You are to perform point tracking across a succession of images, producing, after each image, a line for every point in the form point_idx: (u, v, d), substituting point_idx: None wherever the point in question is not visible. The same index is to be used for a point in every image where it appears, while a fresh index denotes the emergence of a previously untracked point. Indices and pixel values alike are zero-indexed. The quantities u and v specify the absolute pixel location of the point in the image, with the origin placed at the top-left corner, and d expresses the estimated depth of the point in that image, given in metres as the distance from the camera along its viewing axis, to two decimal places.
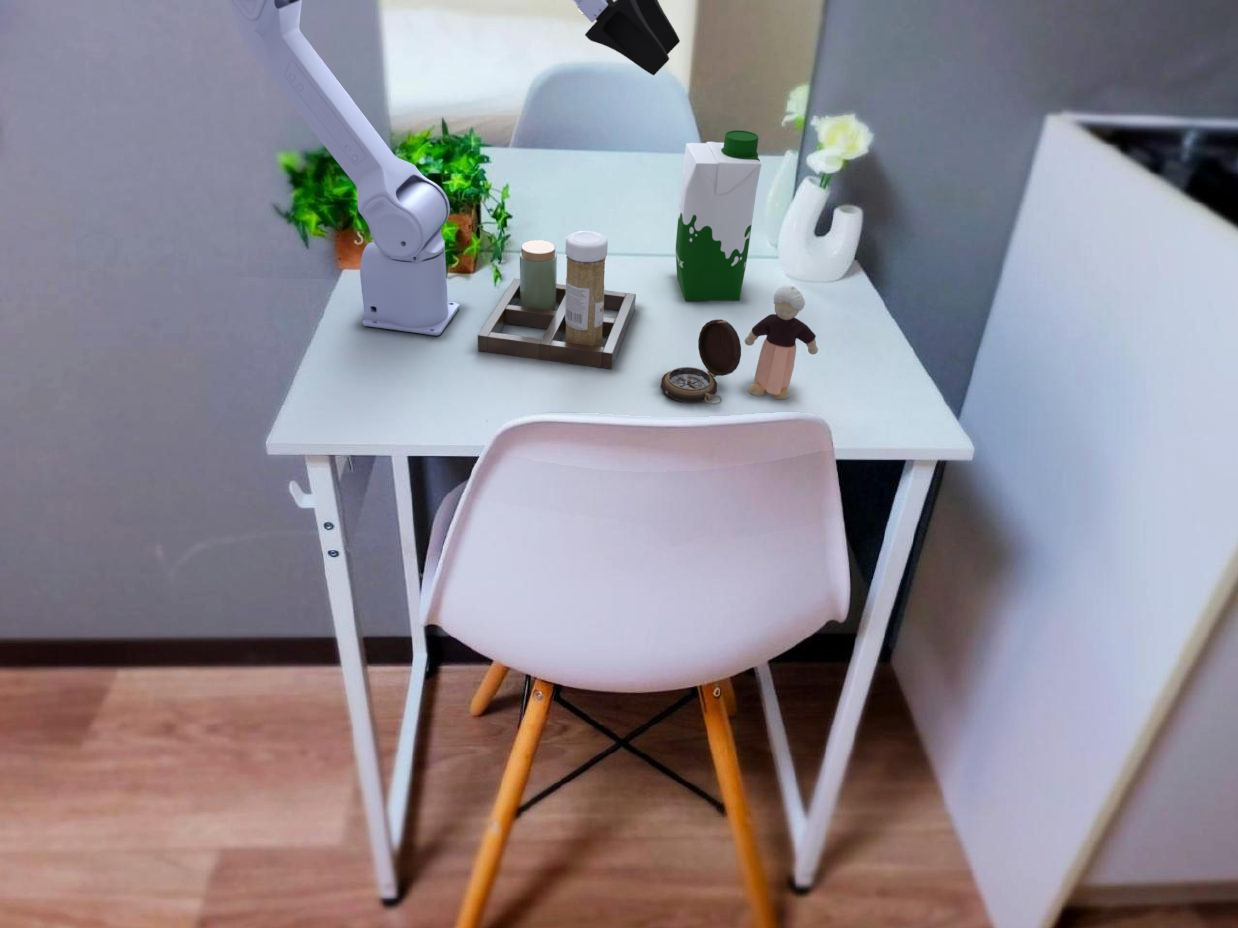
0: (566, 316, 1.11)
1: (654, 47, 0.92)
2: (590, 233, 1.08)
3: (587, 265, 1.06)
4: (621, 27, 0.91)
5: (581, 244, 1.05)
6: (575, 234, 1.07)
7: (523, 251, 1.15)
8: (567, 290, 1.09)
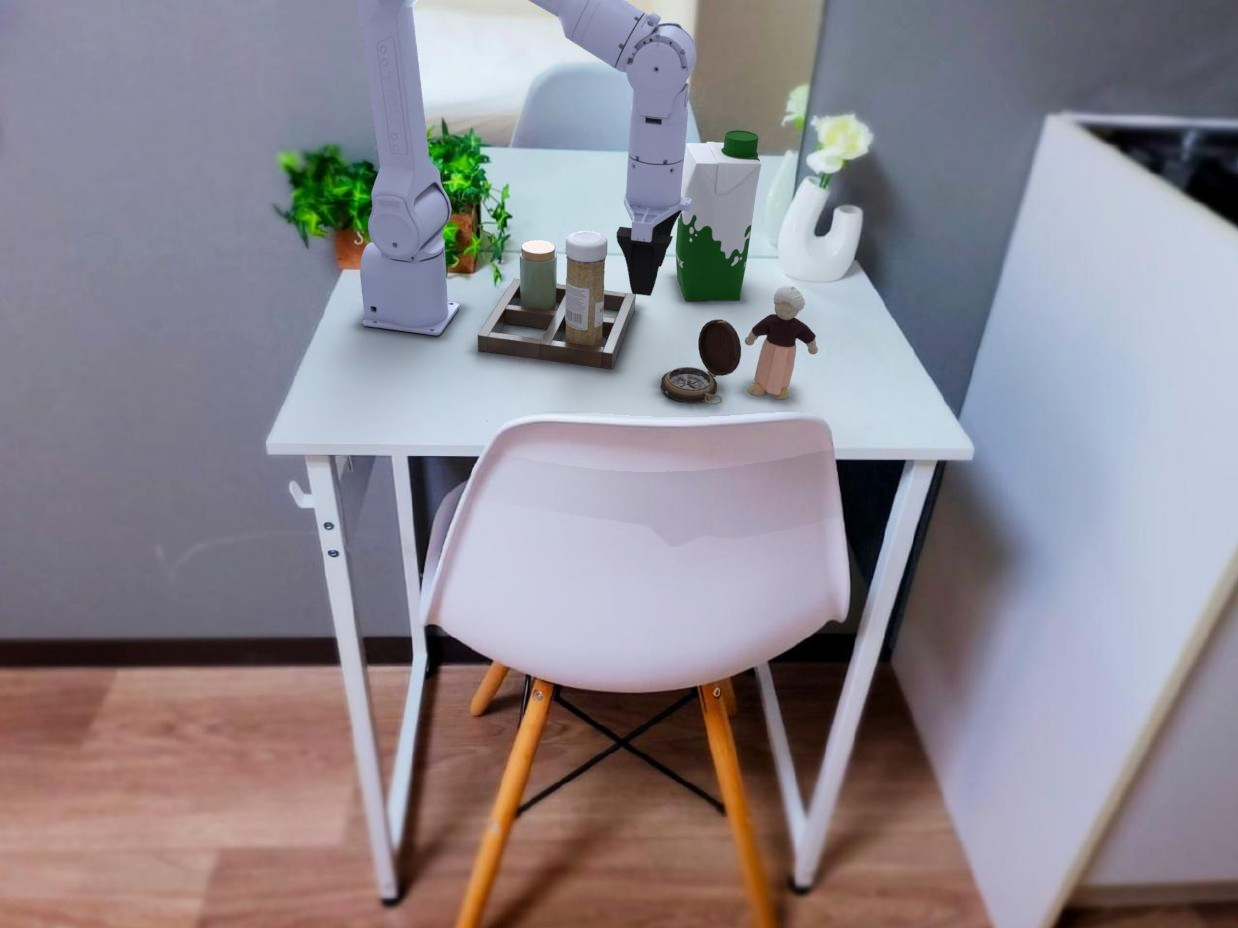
0: (566, 316, 1.11)
1: (650, 281, 1.03)
2: (590, 233, 1.08)
3: (587, 265, 1.06)
4: (643, 250, 1.02)
5: (581, 244, 1.05)
6: (575, 234, 1.07)
7: (523, 251, 1.15)
8: (567, 290, 1.09)
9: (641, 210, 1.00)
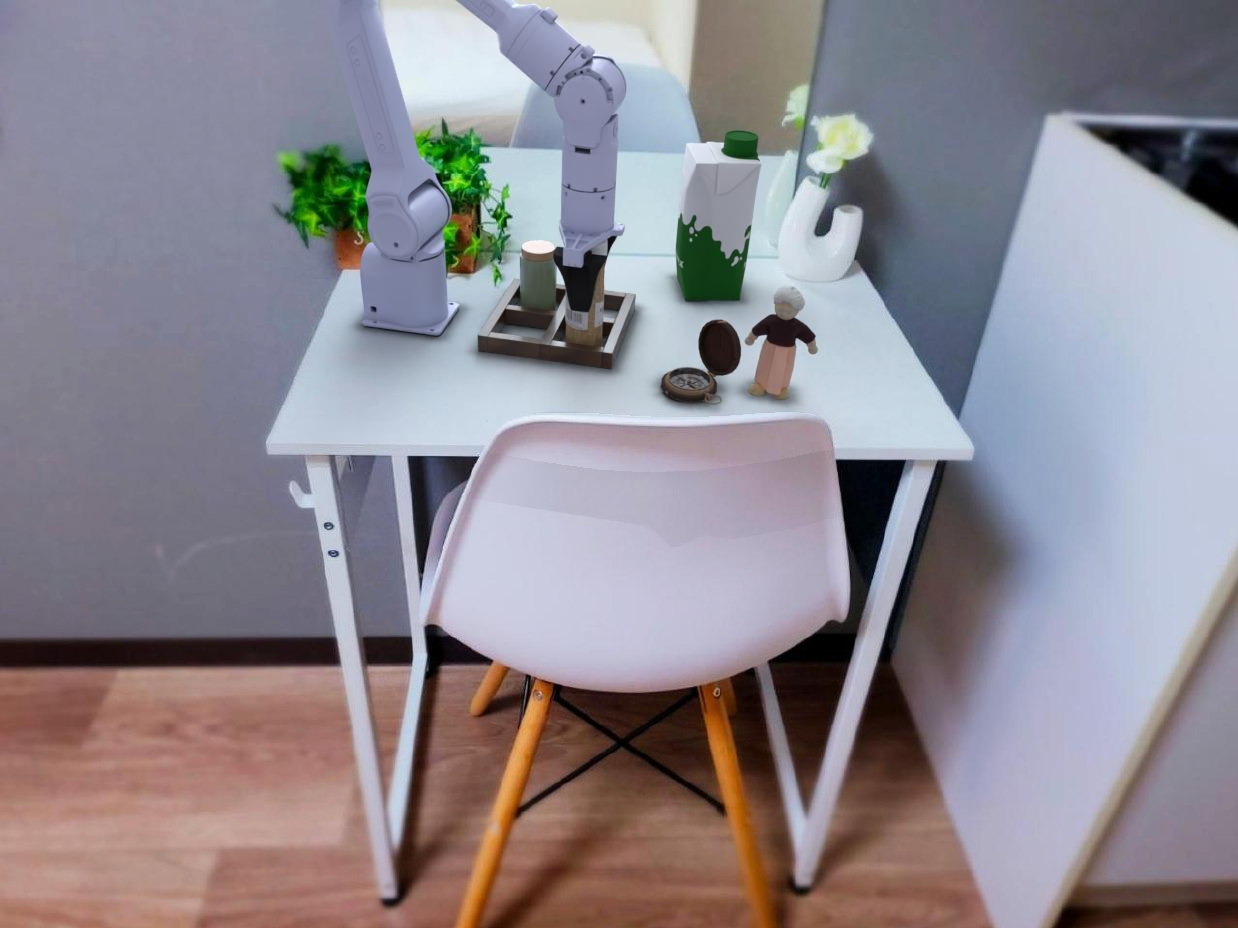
0: (566, 316, 1.11)
1: (587, 298, 1.07)
2: None
3: None
4: (579, 268, 1.06)
5: None
6: None
7: (523, 251, 1.15)
8: None
9: (574, 236, 1.03)
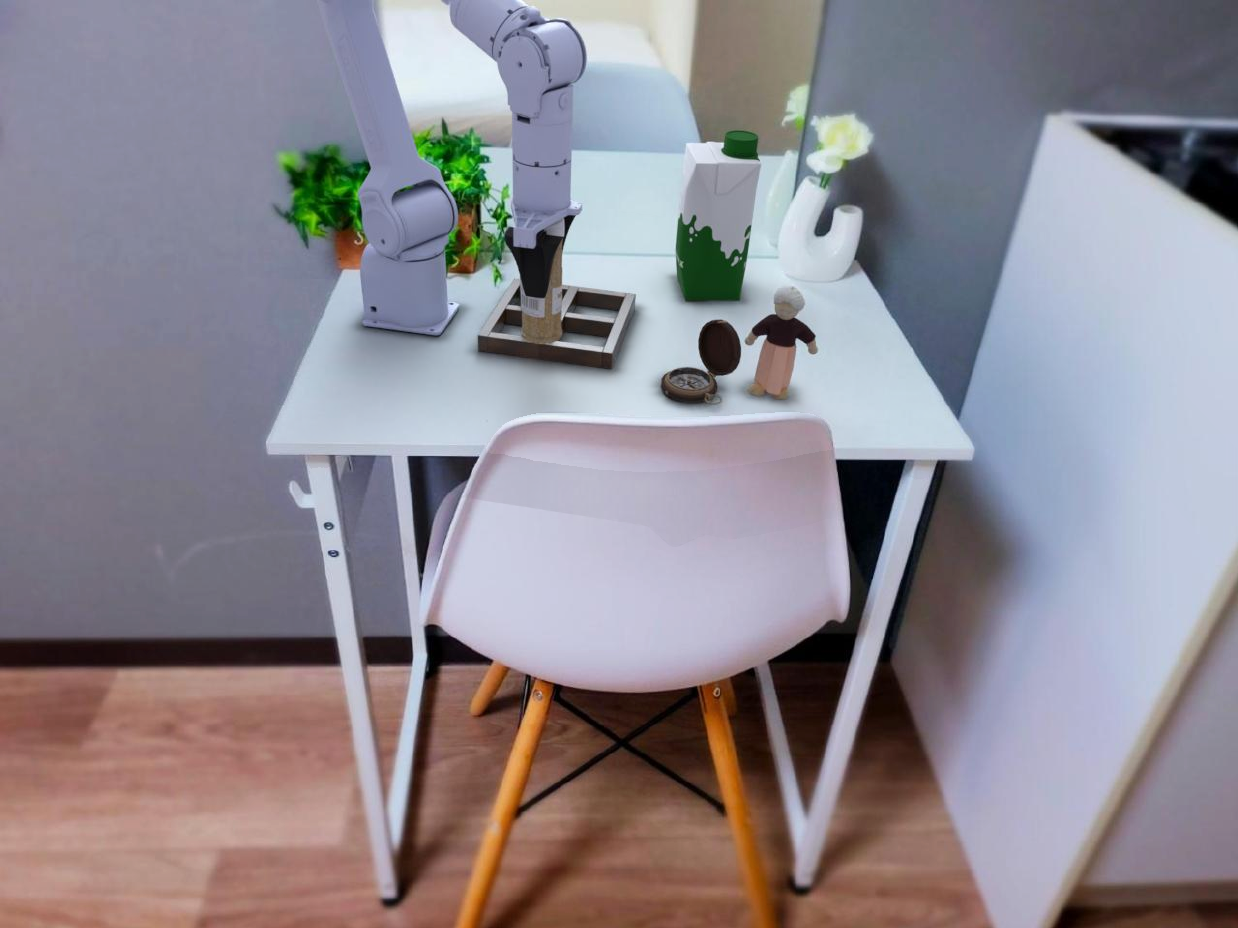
0: (522, 302, 1.04)
1: (543, 283, 1.00)
2: None
3: None
4: (533, 251, 0.98)
5: None
6: None
7: None
8: None
9: (527, 215, 0.96)
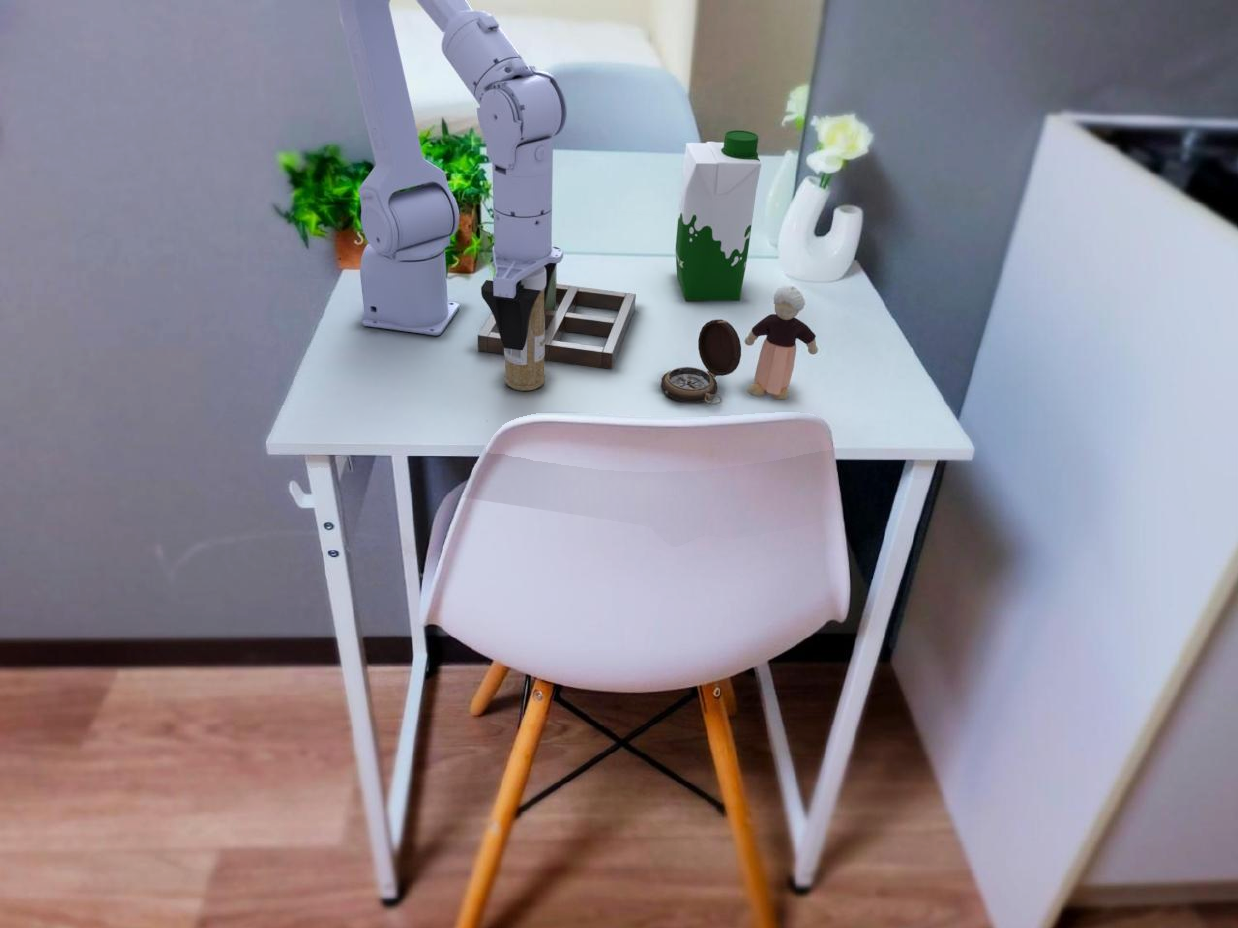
0: (505, 350, 1.04)
1: (520, 336, 0.99)
2: None
3: None
4: (511, 304, 0.97)
5: None
6: None
7: None
8: None
9: (507, 263, 0.96)
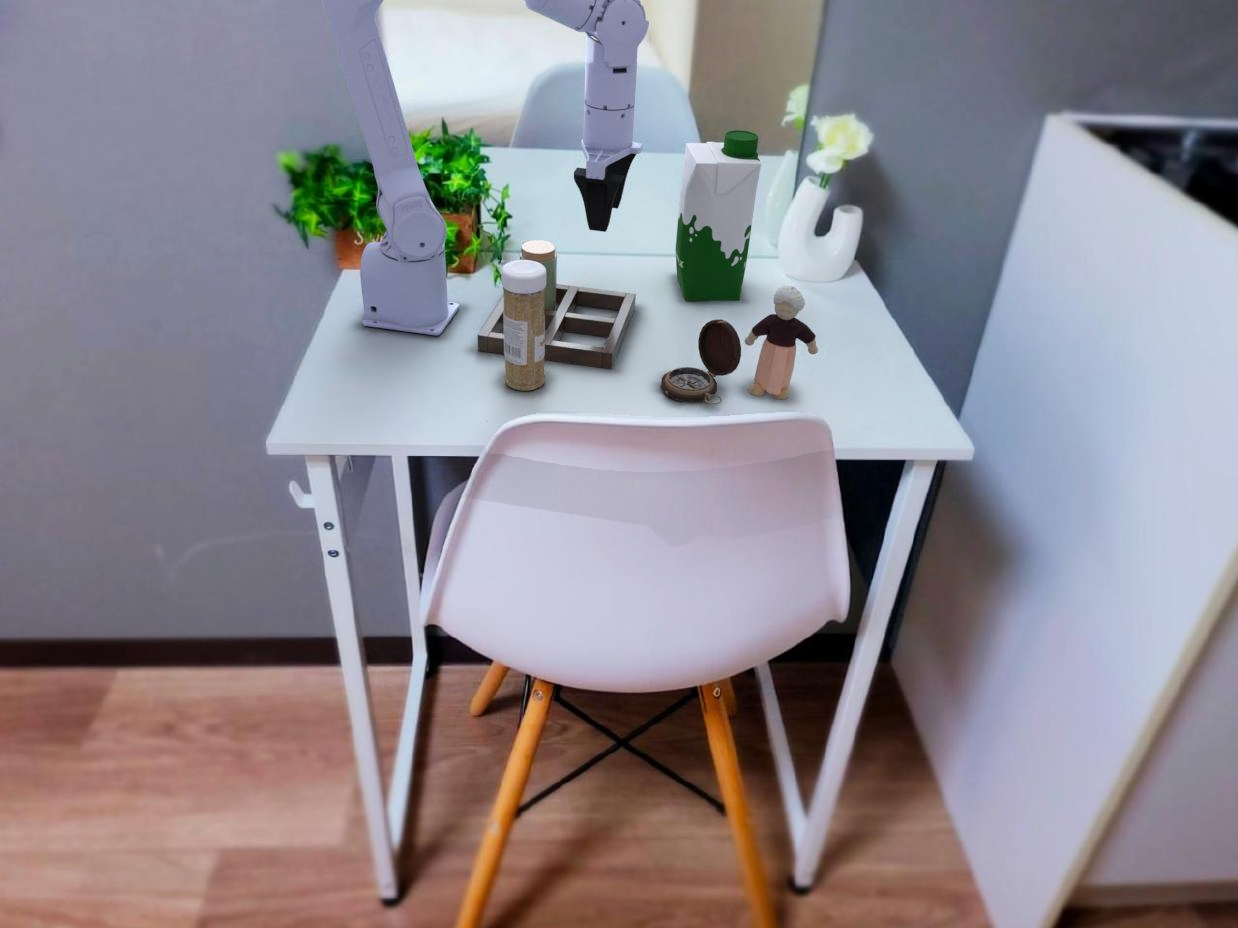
0: (505, 350, 1.04)
1: (605, 218, 1.15)
2: (528, 262, 1.01)
3: (524, 297, 0.99)
4: (598, 188, 1.13)
5: (517, 274, 0.98)
6: (512, 263, 1.00)
7: (523, 251, 1.15)
8: (504, 323, 1.02)
9: (596, 152, 1.12)
